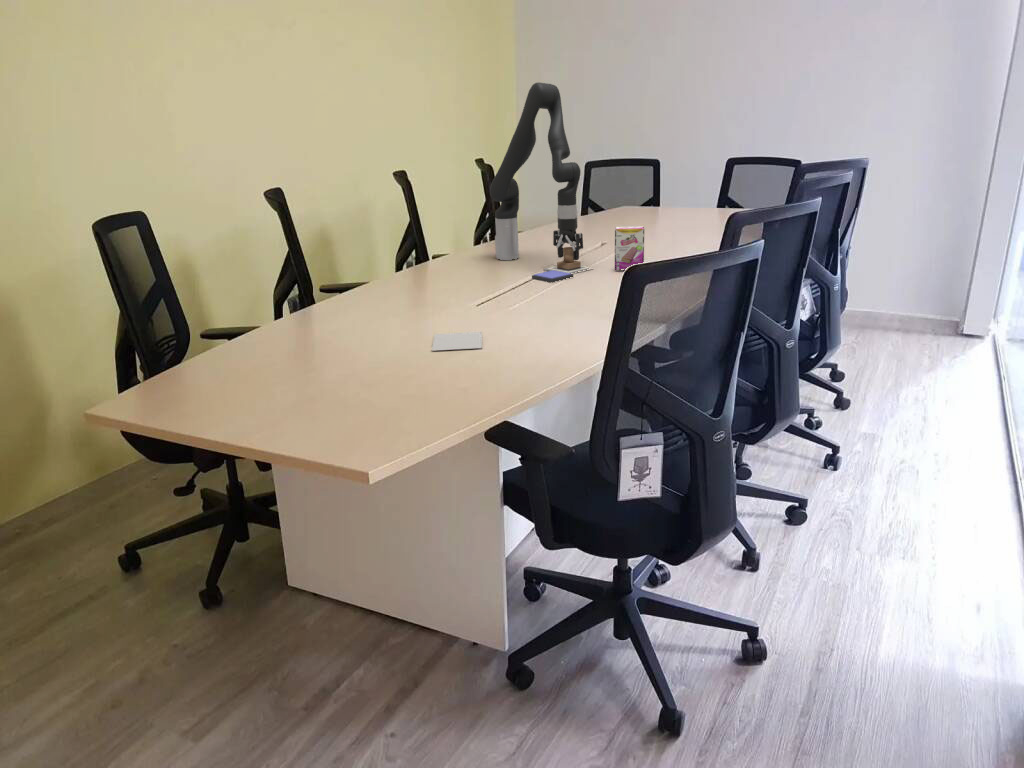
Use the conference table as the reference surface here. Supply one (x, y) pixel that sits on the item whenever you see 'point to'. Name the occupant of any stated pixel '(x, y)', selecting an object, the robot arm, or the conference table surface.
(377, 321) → the conference table surface
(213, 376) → the conference table surface
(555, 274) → the ink pad
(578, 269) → the frame board
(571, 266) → the stamp
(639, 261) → the candy bar box
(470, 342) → the paper stack
